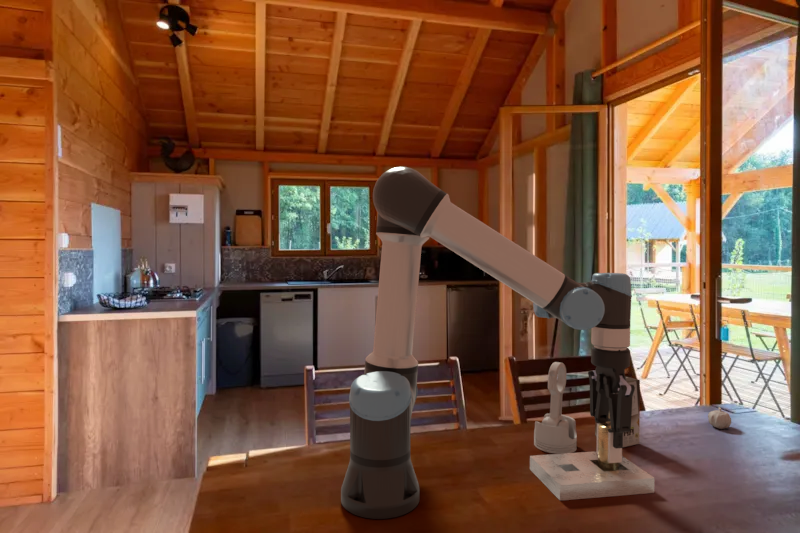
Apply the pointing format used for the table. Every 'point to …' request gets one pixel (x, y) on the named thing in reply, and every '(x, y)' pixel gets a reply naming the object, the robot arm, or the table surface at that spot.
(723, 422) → the garlic
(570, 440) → the engine component
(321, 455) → the table surface
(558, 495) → the white peg hole board
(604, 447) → the cylinder
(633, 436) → the coffee box
